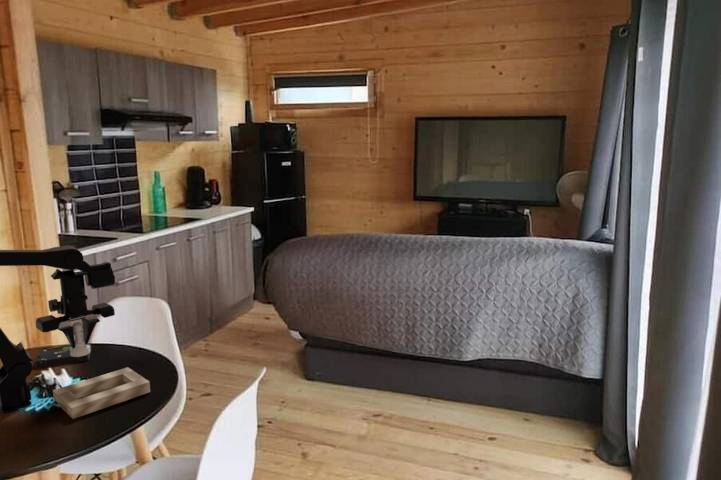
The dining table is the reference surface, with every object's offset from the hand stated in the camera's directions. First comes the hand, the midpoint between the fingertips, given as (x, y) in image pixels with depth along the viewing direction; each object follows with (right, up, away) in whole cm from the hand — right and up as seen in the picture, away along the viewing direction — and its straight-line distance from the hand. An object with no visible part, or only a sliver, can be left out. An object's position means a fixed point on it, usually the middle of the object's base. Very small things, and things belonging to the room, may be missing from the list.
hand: (79, 346), depth 151 cm
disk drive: (-16, -9, +23) cm, 29 cm away
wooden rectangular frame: (+8, -13, -4) cm, 16 cm away
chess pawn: (0, -2, +1) cm, 2 cm away
